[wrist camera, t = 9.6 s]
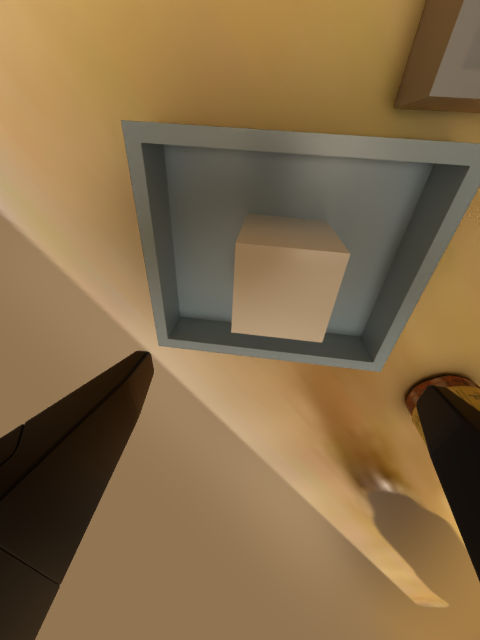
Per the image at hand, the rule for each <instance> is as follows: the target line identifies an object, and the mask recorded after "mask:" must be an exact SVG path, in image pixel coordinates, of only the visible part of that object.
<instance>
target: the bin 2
mask: <svg viewBox="0 0 480 640" xmlns="http://www.w3.org/2000/svg"><path fill="white" fill-rule="evenodd" d="M394 108H405V109H422V110H439V111H456V112H473V113H480V0H427V2H426V5H425V8H424V11H423V15H422V18H421V21H420V24H419V28H418V31H417V34H416V37H415V40H414V44H413V47H412V50H411V53H410V56H409V60H408V63H407V66H406V69H405V73H404V76H403V79H402V82H401V85H400V89H399V92H398V95H397V98H396V101H395V105H394Z"/></svg>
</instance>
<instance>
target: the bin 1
mask: <svg viewBox="0 0 480 640" xmlns="http://www.w3.org/2000/svg"><path fill="white" fill-rule="evenodd" d="M121 123H122V129H123V135H124V141H125V147H126V153H127V159H128V165H129V171H130V177H131V183H132V189H133V195H134V201H135V207H136V213H137V219H138V225H139V231H140V237H141V243H142V249H143V255H144V261H145V267H146V273H147V279H148V285H149V291H150V297H151V303H152V309H153V315H154V321H155V327H156V333H157V339H158V345H159V346H165V347H173V348H182V349H190V350H199V351H207V352H216V353H224V354H233V355H241V356H250V357H258V358H266V359H275V360H283V361H292V362H300V363H309V364H317V365H326V366H334V367H343V368H351V369H360V370H368V371H377V372H381V370H382V368H383V366H384V364H385V362H386V360H387V359H388V357H389V355H390V353H391V351H392V349H393V347H394V345H395V344H396V342H397V340H398V338H399V336H400V334H401V332H402V330H403V329H404V327H405V325H406V323H407V321H408V319H409V317H410V315H411V314H412V312H413V310H414V308H415V306H416V304H417V302H418V300H419V299H420V297H421V295H422V293H423V291H424V289H425V287H426V285H427V284H428V282H429V280H430V278H431V276H432V274H433V272H434V270H435V269H436V267H437V265H438V263H439V261H440V259H441V257H442V255H443V254H444V252H445V250H446V248H447V246H448V244H449V242H450V240H451V239H452V237H453V235H454V233H455V231H456V229H457V227H458V225H459V224H460V222H461V220H462V218H463V216H464V214H465V212H466V210H467V209H468V207H469V205H470V203H471V201H472V199H473V197H474V195H475V194H476V192H477V190H478V188H479V186H480V144H477V143H462V142H447V141H431V140H416V139H401V138H385V137H370V136H355V135H339V134H324V133H309V132H293V131H278V130H263V129H248V128H232V127H217V126H202V125H186V124H171V123H156V122H140V121H125V120H121ZM247 214H256V215H268V216H279V217H291V218H302V219H314V220H326V221H327V222H328V223H329V225H330V226H331V228H332V229H333V230H334V232H335V233H336V234H337V236H338V237H339V239H340V240H341V241H342V243H343V244H344V245H345V247H346V248H347V250H348V251H349V252H350V257H349V260H348V263H347V266H346V269H345V272H344V275H343V279H342V282H341V285H340V288H339V291H338V294H337V298H336V301H335V304H334V307H333V310H332V313H331V316H330V320H329V323H328V326H327V329H326V332H325V335H324V338H323V342H322V343H321V342H312V341H303V340H294V339H286V338H277V337H268V336H259V335H250V334H242V333H233V332H231V328H232V307H233V286H234V265H235V245H236V241H237V238H238V236H239V233H240V231H241V228H242V226H243V223H244V220H245V218H246V215H247Z"/></svg>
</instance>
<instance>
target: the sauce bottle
mask: <svg viewBox="0 0 480 640" xmlns="http://www.w3.org/2000/svg"><path fill="white" fill-rule="evenodd" d="M429 385H438V386H444V387H446V388H448V389H449V390H451V391H452V392H454V393H455V394H456V395H458V396H459V397H461V398H462V399H463V400H465V401H466V402H468V403H469V404H470V405H472V406H473V407H475V408H476V409H477V410H479V411H480V387H479V386H478V385H476V384H475V383H473V382H471V381H469V380H467V379H465V378H461V377H459V376H450V375H447V376H442V377H438V378H435V379H431V380H427V381H425V382H422V383H420V384H419V385H418V386H416V387H414V389H413V390H412V391H411V392H410V393H409V394H408V396H407V399H406V405H407V408H408V410H409V412H410V414H411V416H412V420H413V423H414V425H415V426H416V428H417V430H418V432H419V434H420V435H421V437H422V439H423V441H424V442H425V444H426V441H425V437H424V434H423V430H422V426H421V423H420V419H419V416H418V412H417V409H416V403H417V400H418V399H419V397H420V396H421V394H422V393H423V392H424V390H425V389H426V387H427V386H429ZM426 446H427V444H426Z"/></svg>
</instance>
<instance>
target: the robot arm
mask: <svg viewBox="0 0 480 640" xmlns="http://www.w3.org/2000/svg"><path fill="white" fill-rule="evenodd" d="M153 374H154V368H153V363H152V357H151V354H150V352H147V351H136V352H134V353H133V354H131V355H130V356H128V357H126V358H125V359H123V360H122V361H120V362H119V363H117V364H115V365H114V366H112V367H111V368H109V369H108V370H106V371H105V372H103V373H101V374H100V375H98V376H97V377H96V378H94V379H92V380H90V381H89V382H88V383H86V384H84V385H83V386H81V387H80V388H78V389H76V390H75V391H74V392H72V393H70V394H69V395H67V396H66V397H64V398H62V399H61V400H59V401H58V402H56V403H55V404H53V405H52V406H50V407H48V408H47V409H45V410H44V411H42V412H41V413H39V414H37V415H36V416H34V417H33V418H31V419H30V420H28V421H27V422H26V423H25V425H24V424H22V425H20V426H19V427H17V428H15V429H14V430H12V431H11V432H9V433H8V434H6V435H5V436H3V437H1V438H0V640H35V638H36V636H37V634H38V632H39V630H40V628H41V626H42V623H43V621H44V619H45V617H46V615H47V613H48V611H49V609H50V606H51V604H52V602H53V600H54V598H55V596H56V594H57V592H58V589H59V586H60V584H61V582H62V580H63V578H64V576H65V574H66V572H67V570H68V567H69V565H70V563H71V561H72V559H73V557H74V555H75V553H76V550H77V548H78V546H79V544H80V542H81V540H82V538H83V536H84V533H85V531H86V529H87V527H88V525H89V523H90V521H91V518H92V516H93V514H94V512H95V510H96V508H97V506H98V503H99V501H100V499H101V497H102V495H103V493H104V491H105V488H106V487H107V484H108V482H109V480H110V478H111V476H112V474H113V472H114V469H115V467H116V465H117V463H118V461H119V459H120V457H121V455H122V452H123V450H124V448H125V446H126V444H127V442H128V439H129V437H130V435H131V433H132V431H133V429H134V427H135V425H136V422H137V420H138V418H139V415H140V413H141V410H142V407H143V404H144V401H145V398H146V395H147V392H148V389H149V386H150V383H151V380H152V377H153ZM416 409H417V412H418V416H419V419H420V423H421V426H422V430H423V434H424V437H425V441H426V444H427V448H428V451H429V454H430V457H431V460H432V462H433V465H434V468H435V470H436V473H437V475H438V478H439V480H440V483H441V485H442V488H443V490H444V493H445V495H446V498H447V500H448V503H449V506H450V508H451V511H452V513H453V516H454V518H455V521H456V523H457V526H458V528H459V531H460V533H461V536H462V538H463V541H464V543H465V546H466V549H467V551H468V554H469V556H470V559H471V561H472V564H473V566H474V569H475V571H476V574H477V576H478V579H479V581H480V411H479V410H477V409H476V408H475V407H473V406H472V405H470V404H469V403H468V402H466V401H465V400H463V399H462V398H461V397H459V396H458V395H456V394H455V393H454V392H452V391H451V390H449V389H448V388H446V387H444V386H438V385H429V386H427V387H426V389H425V390H424V392H423V393H422V394H421V396H420V397H419V399H418V400H417V403H416Z"/></svg>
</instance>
